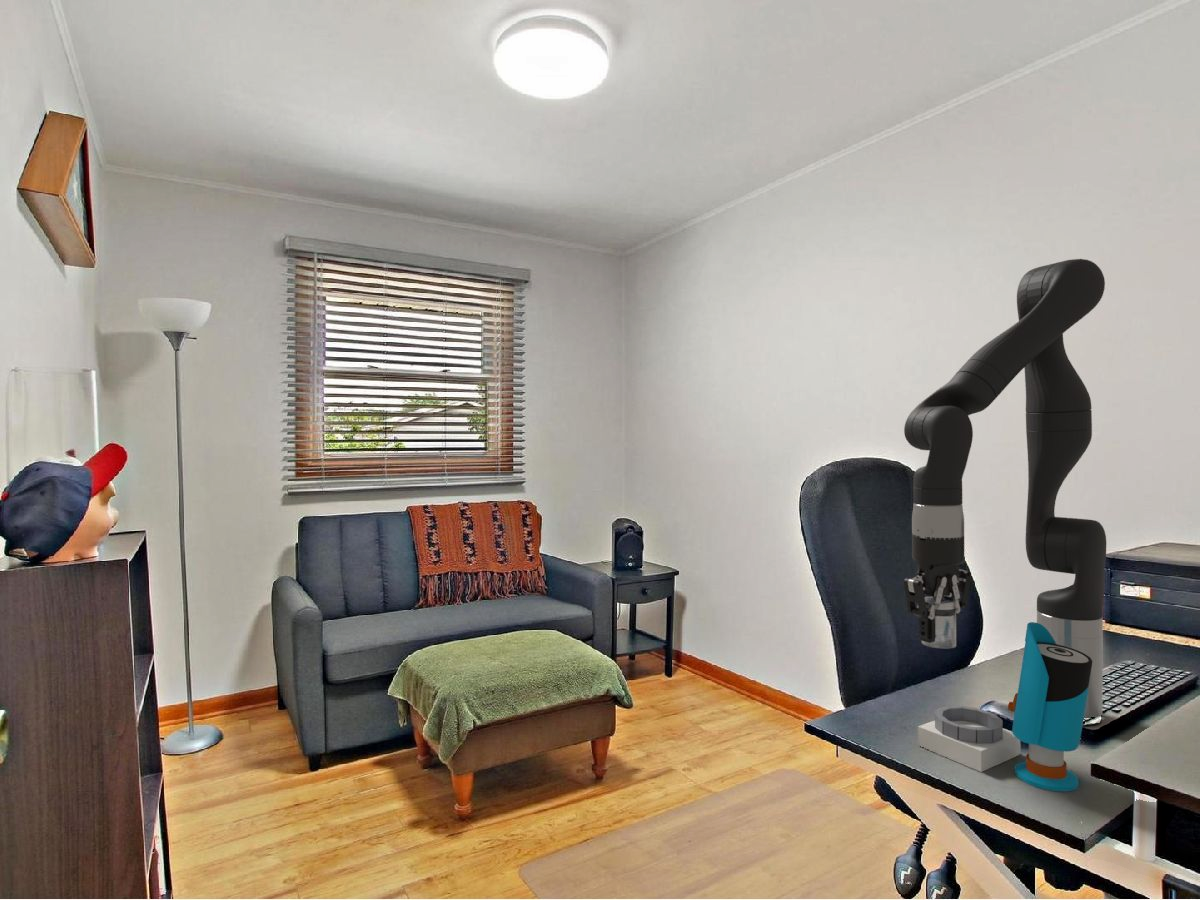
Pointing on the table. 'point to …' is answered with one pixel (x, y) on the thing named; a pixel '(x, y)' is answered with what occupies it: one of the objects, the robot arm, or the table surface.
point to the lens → (944, 624)
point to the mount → (969, 737)
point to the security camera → (1049, 708)
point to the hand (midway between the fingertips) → (938, 637)
